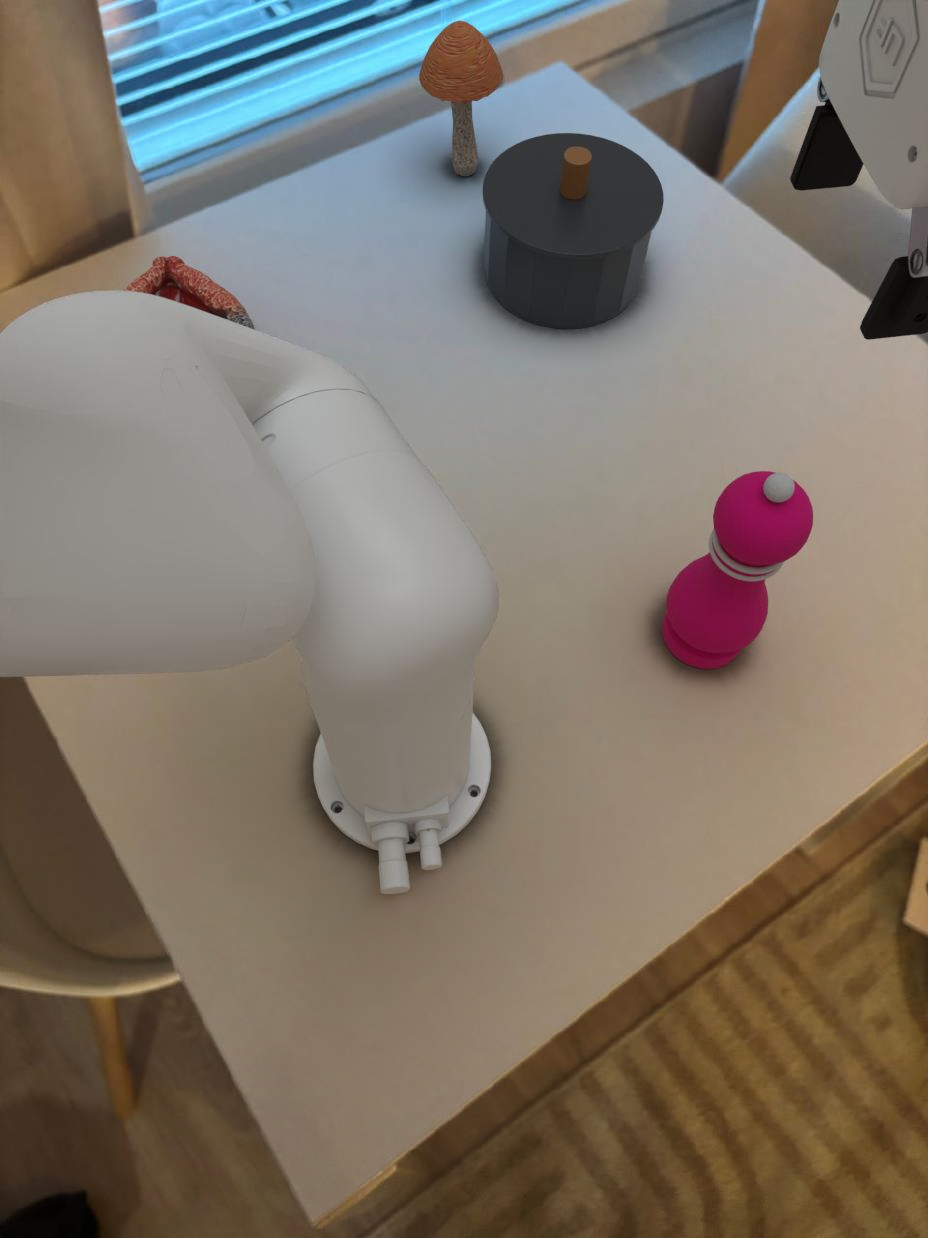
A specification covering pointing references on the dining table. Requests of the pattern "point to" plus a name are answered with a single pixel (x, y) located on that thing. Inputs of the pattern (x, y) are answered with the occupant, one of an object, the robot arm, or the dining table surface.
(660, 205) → the pan lid
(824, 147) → the robot arm
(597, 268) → the pot
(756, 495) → the pepper mill
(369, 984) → the dining table surface
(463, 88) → the mushroom
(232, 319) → the dish
